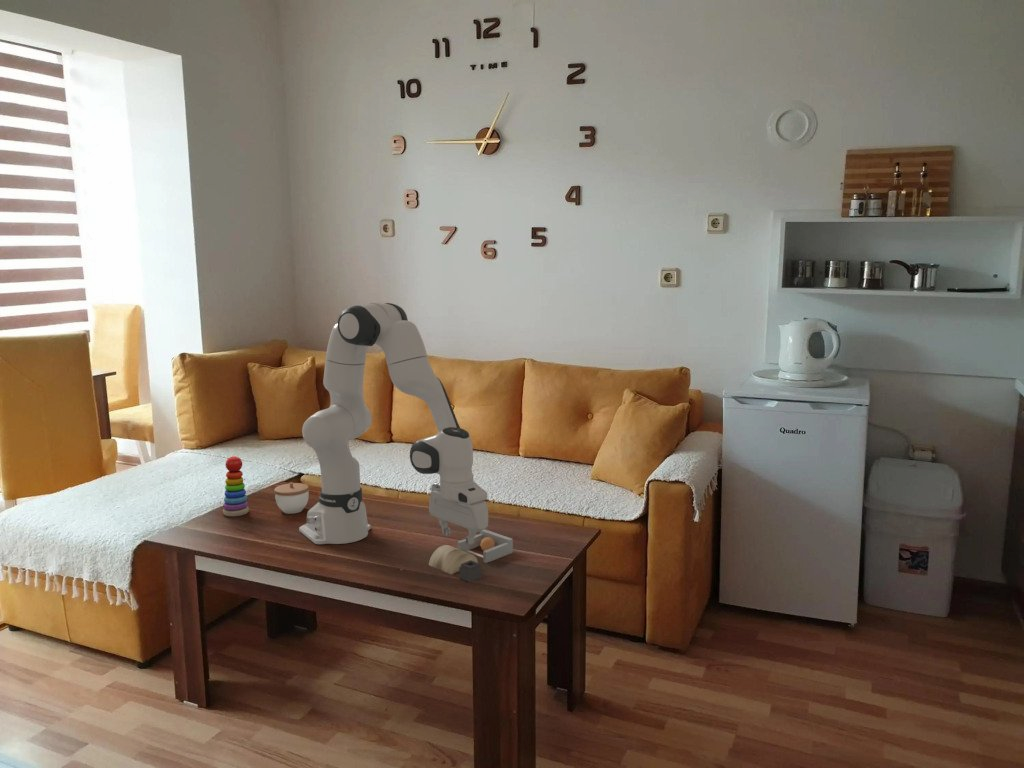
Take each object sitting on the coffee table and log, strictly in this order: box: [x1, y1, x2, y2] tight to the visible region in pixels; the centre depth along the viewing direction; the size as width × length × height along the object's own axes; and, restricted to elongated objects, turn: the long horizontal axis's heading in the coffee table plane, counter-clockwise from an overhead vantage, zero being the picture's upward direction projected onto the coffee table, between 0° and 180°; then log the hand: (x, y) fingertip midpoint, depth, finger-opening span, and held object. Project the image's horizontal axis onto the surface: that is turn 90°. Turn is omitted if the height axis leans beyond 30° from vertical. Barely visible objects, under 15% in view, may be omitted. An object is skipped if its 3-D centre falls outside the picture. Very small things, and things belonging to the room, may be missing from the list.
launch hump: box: [428, 544, 479, 575], centre depth 212 cm, size 9×10×10 cm
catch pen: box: [456, 529, 514, 564], centre depth 220 cm, size 12×10×4 cm
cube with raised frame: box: [458, 560, 483, 583], centre depth 202 cm, size 4×4×4 cm
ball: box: [480, 537, 495, 552], centre depth 220 cm, size 4×4×4 cm
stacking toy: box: [222, 456, 250, 517], centre depth 254 cm, size 8×8×19 cm
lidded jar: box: [273, 482, 310, 515], centre depth 257 cm, size 11×11×9 cm
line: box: [465, 549, 483, 558], centre depth 218 cm, size 9×1×1 cm, turn 46°
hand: (458, 538), depth 212 cm, fingers open, 8 cm apart
